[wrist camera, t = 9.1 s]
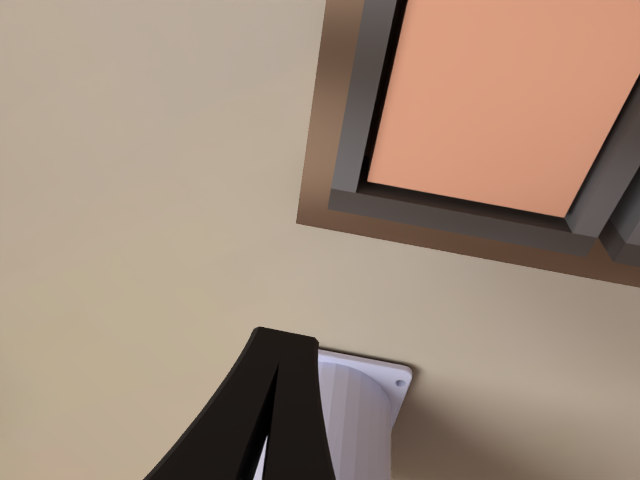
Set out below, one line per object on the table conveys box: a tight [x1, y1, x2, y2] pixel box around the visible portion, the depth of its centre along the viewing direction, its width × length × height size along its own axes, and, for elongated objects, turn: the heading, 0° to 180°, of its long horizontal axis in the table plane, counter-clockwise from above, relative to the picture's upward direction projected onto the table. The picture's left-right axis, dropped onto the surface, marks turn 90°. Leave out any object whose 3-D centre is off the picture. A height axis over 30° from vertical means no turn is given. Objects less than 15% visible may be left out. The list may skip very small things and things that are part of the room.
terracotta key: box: [367, 0, 640, 218], centre depth 15 cm, size 6×6×2 cm
